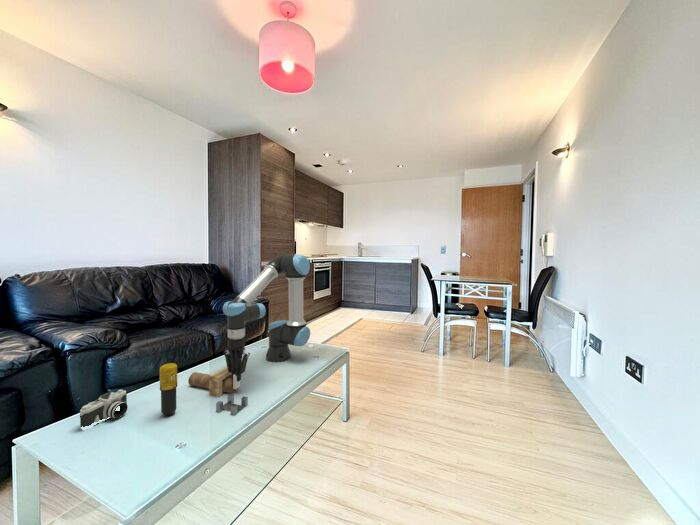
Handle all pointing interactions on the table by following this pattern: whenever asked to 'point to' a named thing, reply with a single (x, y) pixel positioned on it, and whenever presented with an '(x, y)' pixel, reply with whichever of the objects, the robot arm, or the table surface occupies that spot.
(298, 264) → the robot arm
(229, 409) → the grey h-shaped block
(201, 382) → the axle
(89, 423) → the camera
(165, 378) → the microphone
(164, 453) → the table surface
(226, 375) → the wooden arch block
